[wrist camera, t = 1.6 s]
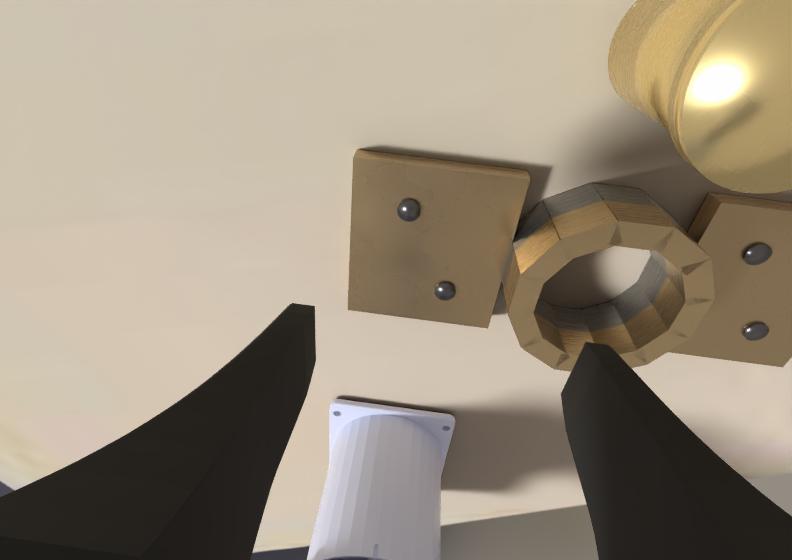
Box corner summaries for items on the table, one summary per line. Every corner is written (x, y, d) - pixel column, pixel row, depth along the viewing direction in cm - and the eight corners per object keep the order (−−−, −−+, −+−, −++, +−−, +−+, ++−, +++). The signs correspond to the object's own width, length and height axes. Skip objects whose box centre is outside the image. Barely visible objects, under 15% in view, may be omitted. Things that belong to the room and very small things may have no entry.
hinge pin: (707, 127, 17) (845, 205, 11) (577, 111, 17) (645, 180, 11) (786, -32, 14) (1030, -41, 8) (628, -50, 14) (758, -71, 8)
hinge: (770, 353, 22) (817, 407, 20) (351, 298, 23) (337, 343, 20) (885, 214, 18) (968, 258, 15) (357, 149, 18) (341, 180, 15)
